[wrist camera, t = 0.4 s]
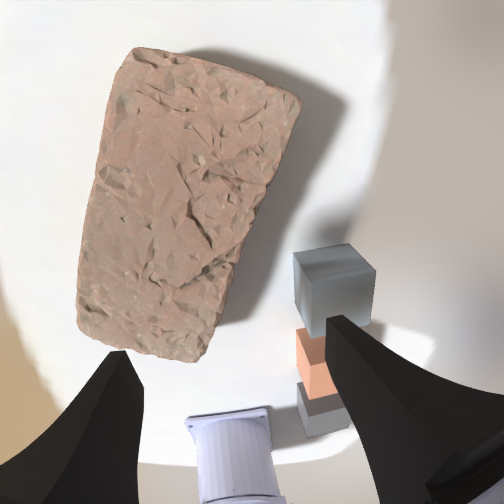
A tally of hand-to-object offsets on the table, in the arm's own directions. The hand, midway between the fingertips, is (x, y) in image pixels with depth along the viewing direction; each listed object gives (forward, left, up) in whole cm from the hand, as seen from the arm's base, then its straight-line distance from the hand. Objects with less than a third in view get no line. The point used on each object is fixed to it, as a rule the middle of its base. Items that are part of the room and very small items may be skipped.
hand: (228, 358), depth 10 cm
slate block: (-3, -7, -10) cm, 12 cm away
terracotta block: (-10, -7, -10) cm, 15 cm away
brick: (+3, +2, -10) cm, 11 cm away
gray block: (-16, -7, -10) cm, 20 cm away
